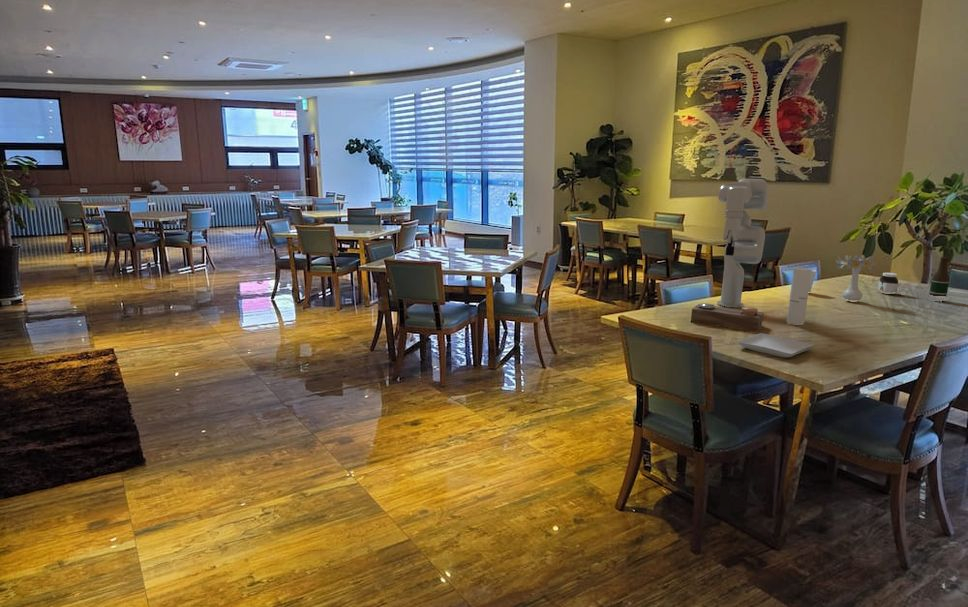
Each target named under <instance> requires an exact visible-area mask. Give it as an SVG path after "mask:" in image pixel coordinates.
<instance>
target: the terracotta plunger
mask: <svg viewBox="0 0 968 607" xmlns="http://www.w3.org/2000/svg"><path fill="white" fill-rule="evenodd" d="M741 310H742V311H743V314H745V315H752V316H755V314H756V312H758V310H759V309H758V308H757V307H753V306H743V307H741Z"/></svg>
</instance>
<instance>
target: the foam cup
mask: <svg viewBox="0 0 968 607" xmlns="http://www.w3.org/2000/svg"><path fill="white" fill-rule="evenodd" d="M810 269H811V268H810ZM811 270H812V271H811V278H810V285H809V292H810V293H811V292H812V289H813V285H814V282H815V278H816V275H817V270H816V269H811Z"/></svg>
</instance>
